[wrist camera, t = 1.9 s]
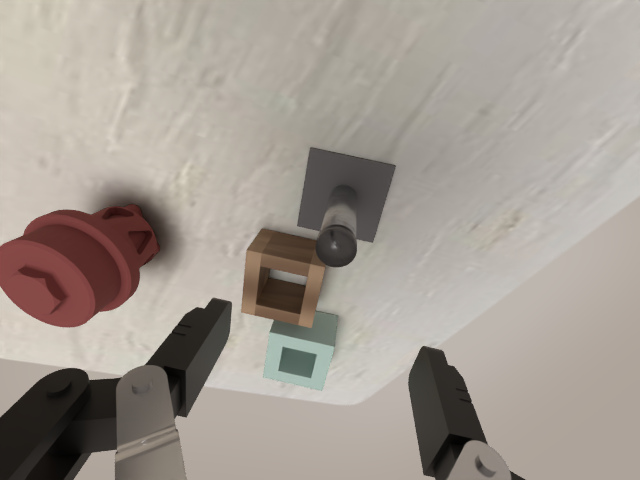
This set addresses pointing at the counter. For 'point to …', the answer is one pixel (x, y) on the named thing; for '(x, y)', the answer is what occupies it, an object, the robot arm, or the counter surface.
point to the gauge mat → (350, 171)
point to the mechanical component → (76, 263)
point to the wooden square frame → (275, 294)
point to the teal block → (301, 351)
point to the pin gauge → (338, 228)
